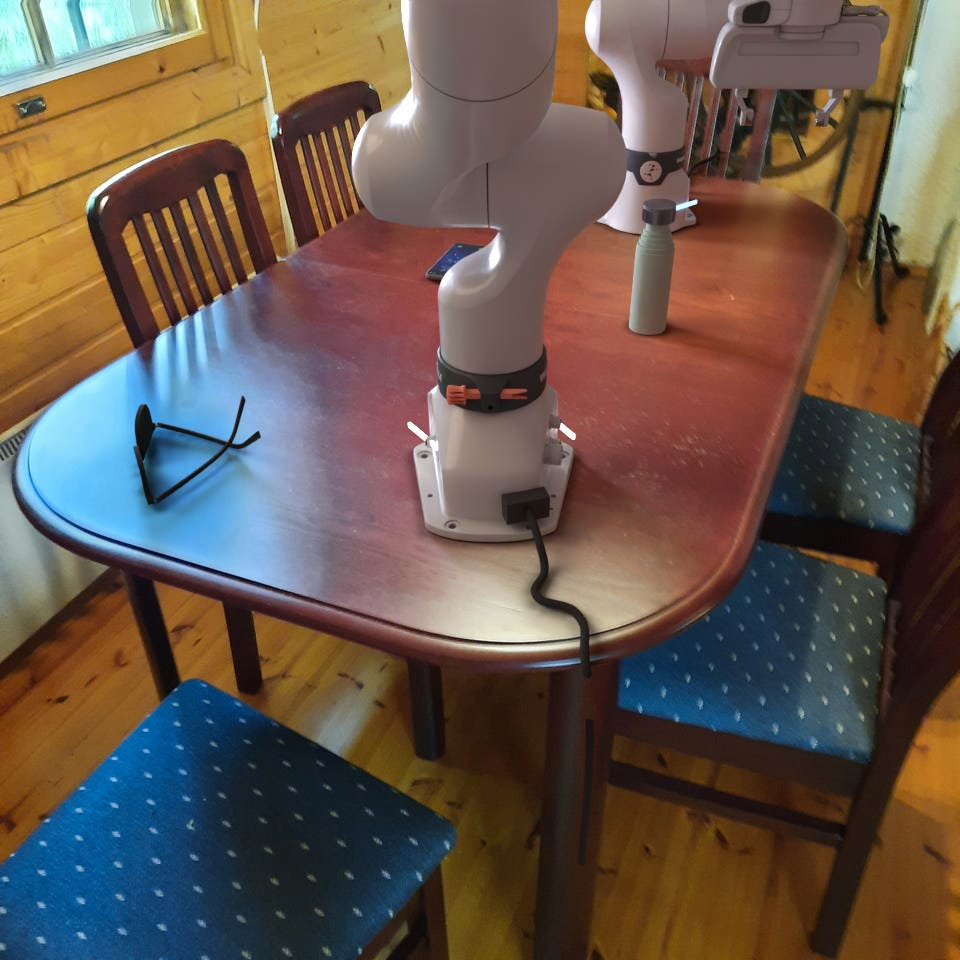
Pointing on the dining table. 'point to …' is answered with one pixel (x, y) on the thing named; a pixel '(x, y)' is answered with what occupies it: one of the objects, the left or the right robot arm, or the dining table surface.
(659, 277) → the bottle
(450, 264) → the smartphone
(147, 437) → the sunglasses
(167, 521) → the dining table surface
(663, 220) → the cap
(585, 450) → the dining table surface
